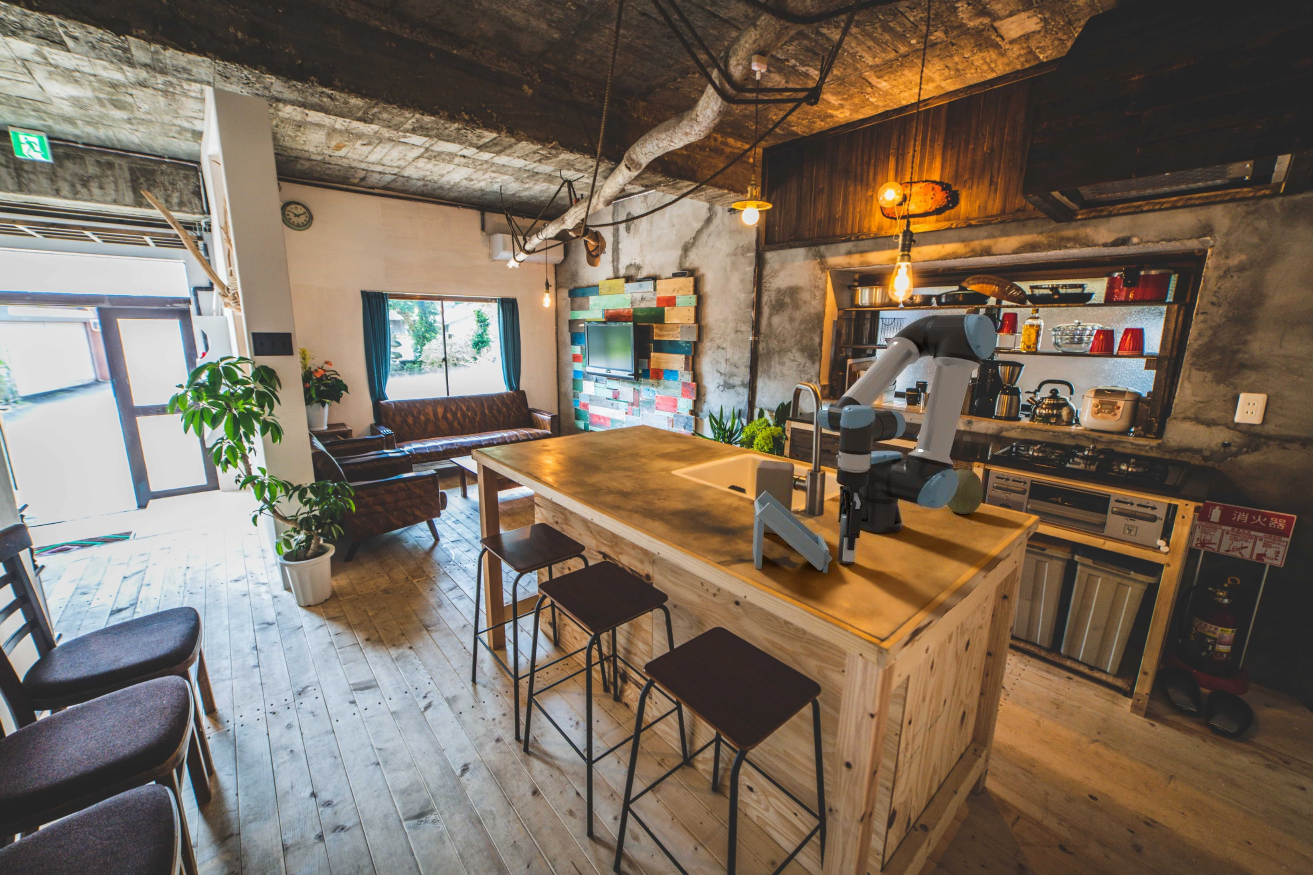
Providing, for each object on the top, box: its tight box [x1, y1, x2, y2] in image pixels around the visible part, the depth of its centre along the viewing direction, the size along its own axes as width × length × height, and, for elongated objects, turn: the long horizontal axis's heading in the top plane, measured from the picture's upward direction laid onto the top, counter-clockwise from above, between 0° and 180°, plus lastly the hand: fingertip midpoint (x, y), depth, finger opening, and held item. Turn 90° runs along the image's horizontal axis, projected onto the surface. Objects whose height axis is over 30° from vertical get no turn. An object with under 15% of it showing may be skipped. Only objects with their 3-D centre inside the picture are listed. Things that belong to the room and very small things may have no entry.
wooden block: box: [753, 459, 795, 535], centre depth 152 cm, size 10×10×20 cm
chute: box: [752, 491, 834, 574], centre depth 130 cm, size 19×10×17 cm, turn 83°
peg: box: [837, 514, 855, 565], centre depth 130 cm, size 4×4×12 cm
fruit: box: [946, 468, 984, 515], centre depth 169 cm, size 11×11×15 cm
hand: (846, 556), depth 131 cm, fingers closed on peg, 4 cm apart
